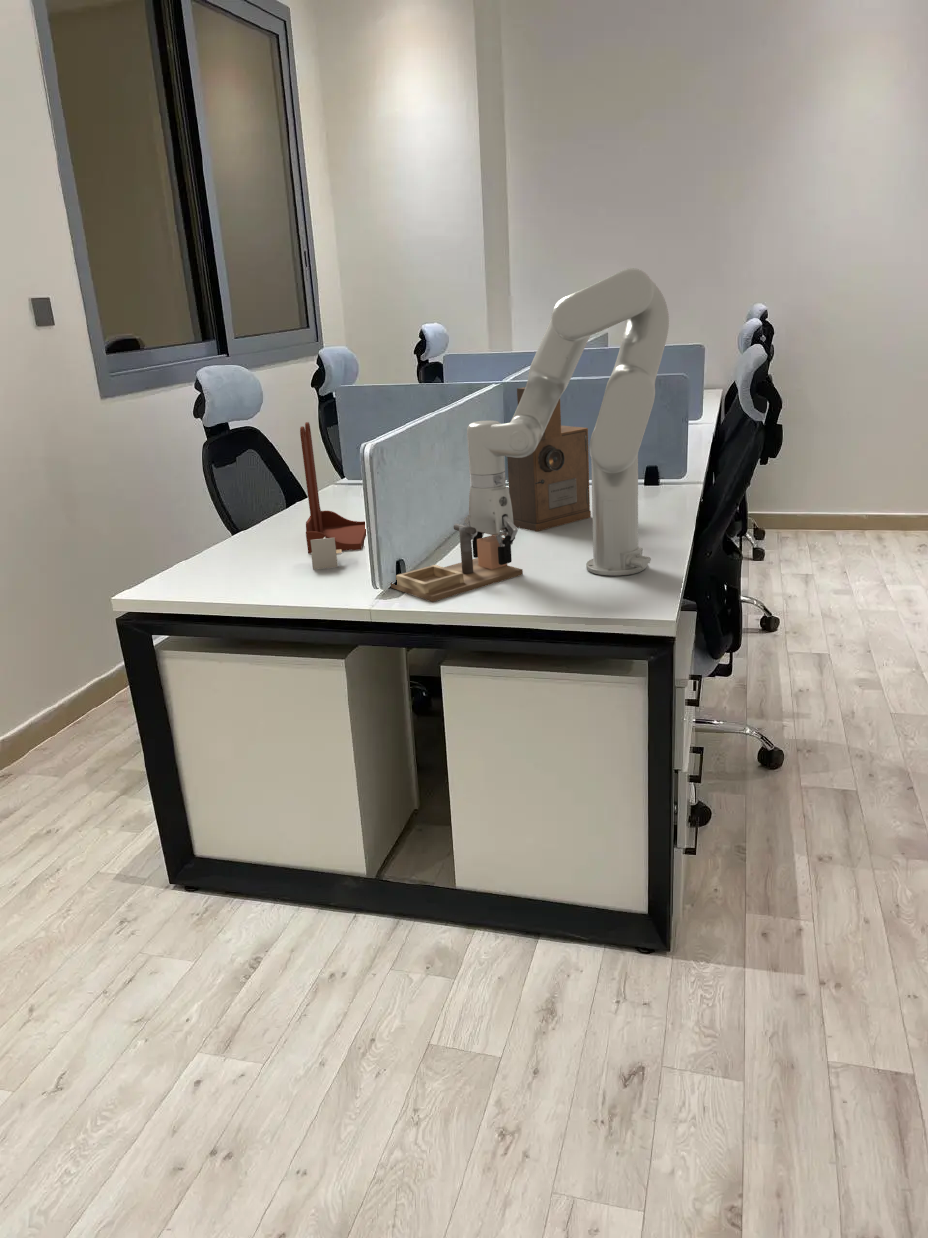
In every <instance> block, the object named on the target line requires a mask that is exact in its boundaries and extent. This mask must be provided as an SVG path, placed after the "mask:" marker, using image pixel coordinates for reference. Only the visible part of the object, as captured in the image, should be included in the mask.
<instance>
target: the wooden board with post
mask: <svg viewBox="0 0 928 1238" xmlns="http://www.w3.org/2000/svg"><path fill="white" fill-rule="evenodd" d="M453 529H454V530H455V531H458V533H459V545H460V546H459V547H460V561H461V562H458V563H454V564H451V565H447V566H441V565H439V564H438V565H437V564H431V565H428V566H425V567H421V568H418V569H414V570H410V571H407V572H402V573H398V574H396V575H395V576H396V578H395V579H396V580H397V585H395V584H392V583H390V588H391V589H394V590H397V591H400V592H403V593H406V594H408V595H412V596H414V597H417V598H420V599H421V600H422V599H423V600H426V601H428V602H432V603H434V602H437V601H440V600H444V599H447V598H450V597H453V596H457V595H461V594H463V593H467V592H470V591H474V590H476V589H481V588H483V587H487V586H490V585H493V584H496V583H500V582H504V581H507V580H510V579H513V578H516V577H520V576H522V575H524V574H523V572H524V570H523V569H522V568H519V567H515V566H512V565H508V564H507V565H505V566H502V567H498V568H495V569H488V568H485V567H481V566H479V565H478V558H474V557H473V544H472V540H471V534H475V533H476V528H473V527H470V526H467V525H466V524H465V525H464V524H460V523H454V524H453Z"/></svg>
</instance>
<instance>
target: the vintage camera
mask: <svg viewBox="0 0 928 1238" xmlns="http://www.w3.org/2000/svg"><path fill="white" fill-rule="evenodd" d="M525 387H526V386H525ZM525 387H518V388H516V395H517V396H516V397H517V399H516V400H517V405H518V404H519V402H520V400H521V397H522V395H523V393H524V390H525ZM561 413H562V412H561V398H560V399H559V401H558V403H557V405H556V407H555V409H554V411H553V413H552V416H551V418H550V420H549V422H548V424H547V427H546V429H545V431H544V433H543V436H542V438H541V440H540V442H539V444H538V446H537V448H536V449H535V451H534V452H533V453H532V454H530V455H529V456H526V457H522V458H515V457H507V456H506V458H507V459H506V461H507V475H508V476H507V478H508V490H509V494H510V499H511V505H512V512H513V523H514V525H515V526H516V527H517V529H518V528H519V529H523V530H527V531H531V532H536V533H537V532H541V531H543V530H548V529H551V528H554V527H559V526H564V525H567V524H570V523H571V524H572V523H575V522H578V521H581V520H586V519H590V518H591V517H592V515H591V514H592V513H591V512H592V511H591V502H590V465H589V462H590V461H589V460H590V459H589V456H590V454H589V428H588V427H582V426H572V425H570V426H569V425H562V418H561V417H562V416H561Z"/></svg>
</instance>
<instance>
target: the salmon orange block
mask: <svg viewBox="0 0 928 1238" xmlns="http://www.w3.org/2000/svg"><path fill="white" fill-rule="evenodd" d="M502 538H503V540H504V538H505V537H504V536H502ZM499 546H500V545H499V543H498V540H497V538H496V536H495V535H487V536H485V537H484V536H483V537H482V538H480V539H477V550H478V565H479V566H481V567H485V568H488V569H495V568H498V567H502V566H505V565H508V563H507V564H503V565H500V564H499V561H498V547H499Z"/></svg>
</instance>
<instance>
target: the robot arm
mask: <svg viewBox="0 0 928 1238" xmlns="http://www.w3.org/2000/svg"><path fill="white" fill-rule="evenodd" d="M668 308H669V307H668V306H667V302H666V298H665V297H664V295H663V292H662V291H661V290H660V288H659V287H658V285H657V284H656V283H655V282H654V281H653V280H652V279H651V277H650V276H649V275H648V274H647V273H646V272H645V271H643V270H642V269H639V268H631V267H629V268H626V269H625V268H624V269H622V270H619V271H618V272H616V273H614V274H612V275H610V276H608V277H605V278H603V279H602V280H600V281H597V282H595V283H593V284H591V285H589V286H587V287H584V288H582V289H579V290H578V291H575V292H573V293H570V294H568V295H566V296H563V297H561V298H560V299H559V300H558V301H557V302H556V303H555V305H554V307H553V309H552V312H551V319H550V321H549V323H548V325H547V328H546V330H545V332H544V334H543V337H542V339H541V341H540V343H539V346H538V348H537V349H536V352H535V354H534V357H533V359H532V361H531V364H530V366H529V369H528V377H527V381H526V384H525V390H524V393H523V395H522V397H521V400H520V402H519V404H518V403H517V407H516V409H515V412H514V414H513V416H512V417H511V420H510V422H507V423H501V422H500V421H497V420H479V421H472V422H471V423H469V424H468V426H467V428H466V439H467V440H466V441H467V451H468V453H467V454H468V455H467V456H468V469H469V471H468V472H469V495H468V515H466V517H464V523H465V526H470V527H473V528H476V533H475V534H471V543H472V558H473V559H475V558H478V550H477V539H480V538H483V537H484V535H485V534H487V535H489V536H491V535H495V536H496V538H497V540H498V543H499V545H500V546H499V547H498V561H499V564H500V565H503V564H507V565H508V564H509V563H512V546H513V544H514V541H515V539H516V536H517V533H518V530H519V529H518V527H516V526H515V525H514V523H513V512H512V505H511V499H510V494H509V486H506V480H507V479H506V467H505V457H506V458H507V457H515V458H522V457H526V456H529V455H530V454H532V453H533V452H534V451H535V449H536V448H537V446H538V444H539V442H540V440H541V438H542V436H543V433H544V431H545V429H546V427H547V424H548V422H549V420H550V418H551V416H552V413H553V411H554V409H555V407H556V405H557V403H558V401H559V399H560V400H561V397H562V395H563V394H564V392H565V390H567V387H568V385H569V383H570V381H571V379H572V377H573V375H574V372H575V370H576V368H577V365H578V364H579V361H580V358H581V357H582V355H583V353H584V350H585V348H586V346H587V344H588V341H589V340H590V337H592V336H593V335H595V334H597V333H600V332H603V331H604V330H606V329H609V328H611V327H613V326H616V325H618V324H620V323H622V322H624V330H623V333H622V334H623V335H622V337H621V341H620V346H619V351H618V354H617V356H616V360H615V363H614V367H613V369H612V372H611V375H610V376H609V377H608V378H609V379H608V381H607V383H606V386H605V389H604V394H603V398H602V400H601V405H600V408H599V411H598V415H597V418H596V422H595V424H594V429H593V431H592V433H591V436H590V439H589V444H588V453H589V456H590V459H591V460H590V462H591V468H590V469H591V504H592V505H591V507H592V511H591V512H592V513H591V514H592V515H591V517H592V547H593V548H592V553H593V555H592V556H593V558H591V559H589V560H588V561H587V562H586V564H585V565H586V570H587V571H588V572H590V573H592V574H596V575H600V576H601V575H602V576H610V577H611V576H612V577H613V576H614V577H616V576H617V577H618V576H627V575H634V574H638V573H640V572H642V571H644V570H645V569H646V568H647V567H648V565H649V564H650V563H651V561H652V560H651V559H652V558H651V557H650V556H646V555H643V548H642V547H639V451H640V447H641V445H642V441H643V438H644V435H645V432H646V428H647V426H648V423H649V419H650V416H651V413H652V410H653V406H654V404H655V403H654V402H655V397H656V387H655V384H656V379H657V376H658V372H659V368H660V365H661V362H662V359H663V354H664V350H665V346H666V343H667V339H668V334H669V327H670V318H669V317H670V316H669V309H668ZM502 537H503V538H504V540H503V538H502Z"/></svg>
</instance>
